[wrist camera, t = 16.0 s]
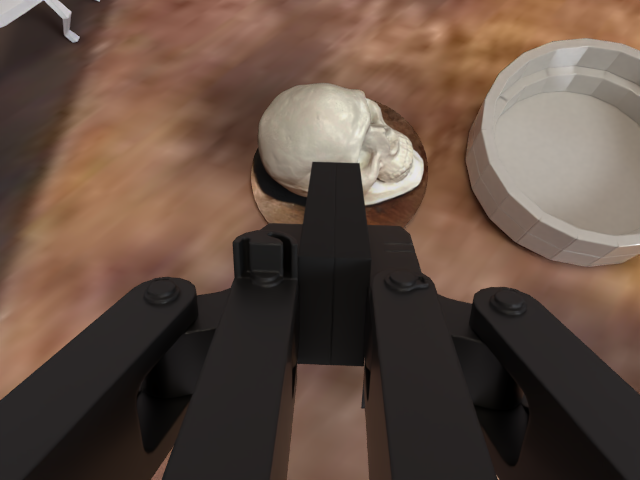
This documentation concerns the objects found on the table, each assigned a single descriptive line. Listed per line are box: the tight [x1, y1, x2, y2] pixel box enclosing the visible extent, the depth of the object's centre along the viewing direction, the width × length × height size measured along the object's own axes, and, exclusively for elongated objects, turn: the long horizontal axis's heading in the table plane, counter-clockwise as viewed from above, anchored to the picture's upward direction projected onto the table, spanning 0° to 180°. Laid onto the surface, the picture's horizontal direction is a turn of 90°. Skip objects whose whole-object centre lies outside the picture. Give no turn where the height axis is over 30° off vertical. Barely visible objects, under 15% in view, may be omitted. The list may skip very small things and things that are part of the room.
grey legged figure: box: [0, 0, 100, 43], centre depth 38 cm, size 12×8×5 cm
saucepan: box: [466, 38, 640, 267], centre depth 34 cm, size 14×14×4 cm
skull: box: [251, 83, 428, 228], centre depth 34 cm, size 12×10×10 cm
